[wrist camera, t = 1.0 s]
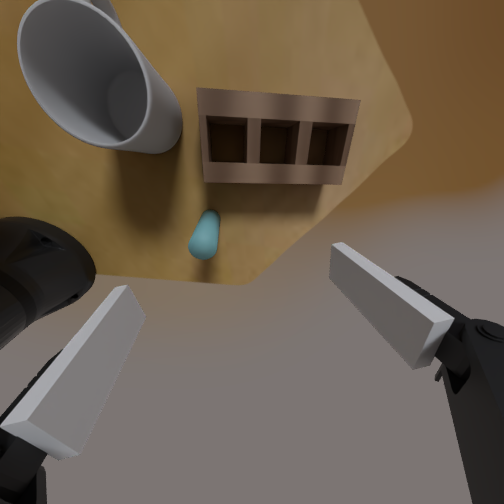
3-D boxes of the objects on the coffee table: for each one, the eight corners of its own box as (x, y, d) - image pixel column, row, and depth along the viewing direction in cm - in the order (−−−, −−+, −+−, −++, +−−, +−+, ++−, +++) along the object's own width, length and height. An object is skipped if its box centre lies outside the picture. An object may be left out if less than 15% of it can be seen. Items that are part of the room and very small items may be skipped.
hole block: (207, 178, 27) (204, 182, 23) (202, 101, 23) (196, 87, 19) (324, 181, 29) (341, 184, 25) (337, 110, 25) (360, 100, 21)
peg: (202, 227, 30) (190, 260, 20) (200, 209, 29) (186, 234, 19) (220, 227, 30) (217, 259, 21) (219, 209, 29) (216, 234, 19)
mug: (189, 152, 25) (165, 146, 15) (124, 155, 25) (56, 152, 15) (166, 25, 20) (106, -106, 10) (81, 26, 19) (-70, -114, 9)
